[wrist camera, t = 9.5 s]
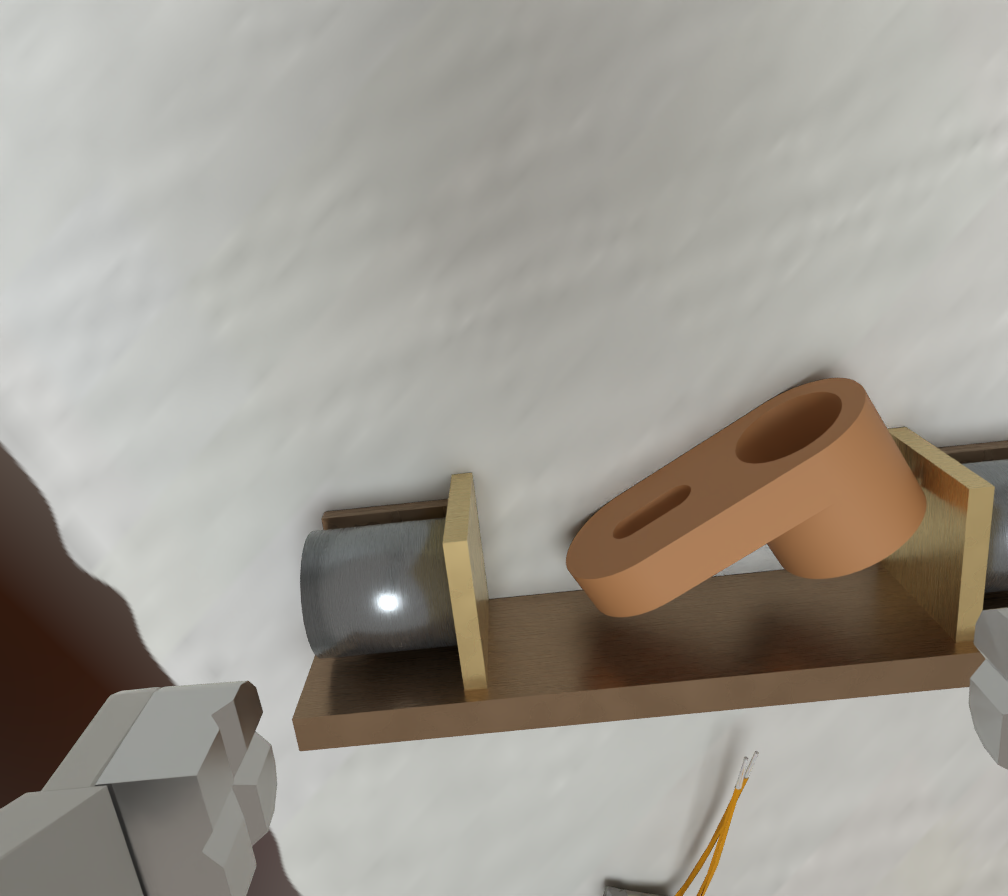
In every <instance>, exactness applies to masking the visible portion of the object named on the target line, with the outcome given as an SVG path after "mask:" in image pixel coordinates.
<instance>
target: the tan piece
mask: <svg viewBox="0 0 1008 896" xmlns="http://www.w3.org/2000/svg"><path fill="white" fill-rule="evenodd" d="M925 512H926V496H925V494H924V492H923V490H922V488H921V487H920V485H919V483H918V481H917V480H916V478H915V476H914V474H913V473H912V471H911V469H910V467H909V466H908V464H907V462H906V461H905V459H904V457H903V455H902V454H901V452H900V450H899V448H898V447H897V445H896V443H895V441H894V440H893V438H892V436H891V435H890V433H889V431H888V429H887V428H886V426H885V424H884V422H883V421H882V419H881V417H880V415H879V414H878V412H877V410H876V409H875V407H874V405H873V403H872V402H871V400H870V398H869V396H868V395H867V393H866V391H865V389H864V388H863V387H862V385H860V384H859V383H857V382H856V381H854V380H851V379H846V378H829V379H823V380H818V381H814V382H810V383H807V384H803V385H801V386H798V387H795V388H793V389H790V390H788V391H786V392H784V393H782V394H780V395H778V396H776V397H774V398H772V399H770V400H769V401H767V402H765V403H764V404H762V405H760V406H759V407H757V408H756V409H754V410H753V411H751V412H749V413H748V414H746V415H745V416H743V417H742V418H740V419H738V420H737V421H735V422H734V423H732V424H731V425H729V426H727V427H726V428H724V429H723V430H721V431H720V432H718V433H716V434H715V435H713V436H712V437H710V438H709V439H707V440H705V441H704V442H702V443H701V444H699V445H697V446H696V447H694V448H693V449H691V450H690V451H688V452H686V453H685V454H683V455H682V456H680V457H679V458H677V459H675V460H674V461H672V462H671V463H669V464H668V465H666V466H664V467H663V468H661V469H660V470H658V471H657V472H655V473H653V474H652V475H650V476H649V477H647V478H645V479H644V480H642V481H641V482H639V483H638V484H636V485H634V486H633V487H631V488H630V489H628V490H627V491H625V492H623V493H622V494H620V495H619V496H617V497H616V498H614V499H613V500H611V501H610V502H609V503H607V504H606V505H605V506H603V507H602V508H601V509H600V510H599V511H597V512H596V513H595V514H594V515H593V516H592V517H591V518H590V519H589V520H588V521H587V522H586V523H585V524H584V526H583V527H582V528H581V529H580V530H579V532H578V533H577V535H576V536H575V538H574V539H573V541H572V543H571V545H570V547H569V549H568V552H567V557H566V565H567V569H568V571H569V572H570V573H571V575H572V576H573V577H574V579H575V580H576V581H577V582H578V584H579V585H580V586H581V588H582V589H583V590H584V592H585V593H586V594H587V596H588V597H589V598H590V599H591V601H592V602H593V603H594V605H595V606H596V607H597V609H598V610H599V611H600V612H602V613H604V614H605V615H608V616H612V617H629V616H635V615H639V614H643V613H646V612H649V611H651V610H654V609H656V608H658V607H660V606H662V605H664V604H666V603H668V602H670V601H672V600H673V599H675V598H677V597H678V596H680V595H682V594H683V593H685V592H687V591H688V590H690V589H692V588H693V587H695V586H697V585H698V584H700V583H702V582H703V581H705V580H707V579H708V578H710V577H712V576H713V575H715V574H717V573H718V572H720V571H722V570H723V569H725V568H727V567H728V566H730V565H732V564H733V563H735V562H737V561H738V560H740V559H742V558H743V557H745V556H747V555H748V554H750V553H752V552H753V551H755V550H757V549H759V548H760V547H762V546H764V545H765V544H768V546H769V547H770V549H771V551H772V552H773V554H774V555H775V556H776V558H777V559H778V561H779V562H780V564H781V565H782V567H783V568H784V569H785V570H787V571H788V572H790V573H791V574H794V575H796V576H799V577H803V578H809V579H827V578H835V577H840V576H844V575H848V574H852V573H855V572H857V571H860V570H863V569H865V568H867V567H870V566H872V565H874V564H876V563H878V562H879V561H881V560H883V559H885V558H886V557H888V556H889V555H891V554H892V553H894V552H895V551H896V550H897V549H899V548H900V547H901V546H902V545H903V544H904V543H906V542H907V541H908V540H909V539H910V537H911V536H912V535H913V534H914V533H915V531H916V530H917V529H918V527H919V526H920V524H921V522H922V520H923V518H924V515H925Z"/></svg>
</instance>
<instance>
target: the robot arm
mask: <svg viewBox="0 0 1008 896" xmlns="http://www.w3.org/2000/svg"><path fill="white" fill-rule="evenodd" d="M973 644H974V645H975V646H976V647H977V649H978V650H979V651H980V652H981V654H982V655H983V656H984V658H985V659H986V660H985V661H984V662H983V663H982V664H981V666H980V667H979V668H978V669H977V670H976V671H975V673H974V674H973V675H972V676H971V677H970V688H969V707H970V712H971V716H972V720H973V724H974V728H975V731H976V733H977V734H978V736H979V738H980V740H981V742H982V744H983V746H984V748H985V749H986V750H987V752H988V753H989V754H990V755H991V757H992V758H993V759H994V761H995V762H996V763H997V764H998V765H1000V766H1002V767H1004V768H1006V769H1008V607H1007V608H998V609H990V610H982V612H981V614H980V616H979V618H978V620H977V622H976V625H975V634H974V643H973ZM262 713H263V710H262V707H261V703H260V700H259V696H258V693H257V689H256V687H255V686H254V685H253V684H251V683H250V682H249V681H236V682H223V683H210V684H197V685H183V686H170V687H163V688H158V687H156V688H146V689H136V690H127V691H121V692H118V693H115V694H113V695H111V696H110V697H109V698H108V699H107V701H106V702H105V703H104V705H103V706H102V708H101V709H100V710H99V712H98V713H97V714H96V716H95V717H94V719H93V720H92V722H91V723H90V724H89V726H88V727H87V728H86V730H85V731H84V733H83V734H82V735H81V737H80V738H79V740H78V741H77V742H76V744H75V745H74V746H73V748H72V749H71V751H70V752H69V753H68V755H67V756H66V758H65V759H64V760H63V762H62V763H61V764H60V766H59V767H58V769H57V770H56V771H55V773H54V774H53V775H52V777H51V778H50V780H49V781H48V782H47V784H46V785H45V787H44V788H43V789H42V791H40V792H31V793H25V794H24V795H22V796H21V797H19V798H18V799H16V800H15V801H13V802H11V803H10V804H8V805H7V806H5V807H3V808H2V809H0V896H246V894H247V891H248V889H249V886H250V883H251V880H252V877H253V874H254V871H255V868H256V861H255V857H254V853H253V850H252V846H253V845H254V844H255V843H256V842H257V841H258V840H259V839H260V838H261V837H263V836H264V835H265V834H266V833H267V832H268V830H269V826H270V823H271V820H272V817H273V814H274V810H275V800H276V790H277V777H276V765H275V759H274V755H273V751H272V746H271V744H270V743H269V742H268V741H266V740H265V739H264V738H263V737H262V736H261V735H259V734H258V733H257V732H256V731H255V730H256V728H257V726H258V723H259V721H260V718H261V716H262Z"/></svg>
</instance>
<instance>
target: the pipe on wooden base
mask: <svg viewBox="0 0 1008 896" xmlns="http://www.w3.org/2000/svg"><path fill="white" fill-rule="evenodd" d="M888 431H889V433H890V435H891V436H892V438H893V440H894V441H895V443H896V445H897V447H898V448H899V450H900V452H901V454H902V455H903V457H904V459H905V461H906V462H907V464H908V466H909V467H910V469H911V471H912V473H913V474H914V476H915V478H916V480H917V481H918V483H919V485H920V487H921V488H922V490H923V492H924V494H925V496H926V512H925V515H924V518H923V520H922V522H921V524H920V526H919V527H918V529H917V530H916V531H915V533H914V534H913V535H912V536H911V537H910V539H909V540H908V541H907V542H906V543H904V544H903V545H902V546H901V547H900V548H899V549H897V550H896V551H895V552H894V553H892V554H891V555H889V556H888V557H886V558H885V559H883V560H881V561H879V562H878V563H876V564H874V565H872V566H870V567H867V568H865V569H863V570H860V571H857V572H855V573H852V574H848V575H844V576H840V577H835V578H827V579H809V578H803V577H799V576H796V575H794V574H791V573H790V572H788V571H787V570H776V571H766V572H757V573H747V574H737V575H727V576H717V577H710V578H708V579H707V580H705V581H703V582H702V583H700V584H698V585H697V586H695V587H693V588H692V589H690V590H688V591H687V592H685V593H683V594H682V595H680V596H678V597H677V598H675V599H673V600H672V601H670V602H668V603H666V604H664V605H662V606H660V607H658V608H656V609H654V610H651V611H649V612H646V613H643V614H639V615H635V616H629V617H612V616H608V615H605V614H604V613H602V612H600V611H599V610H598V609H597V607H596V606H595V605H594V603H593V602H592V601H591V599H590V598H589V597H588V596H587V594H586V593H585V592H584V590H578V591H568V592H558V593H548V594H538V595H528V596H519V597H509V598H499V599H489V597H488V590H487V582H486V574H485V567H484V559H483V552H482V544H481V536H480V529H479V521H478V513H477V506H476V498H475V491H474V483H473V475H472V473H464V474H454V475H452V477H451V484H450V492H449V499H443V500H433V501H423V502H414V503H404V504H395V505H385V506H375V507H366V508H356V509H347V510H337V511H328V512H325V513H324V515H323V517H322V524H323V528H324V530H320V531H312V532H311V533H310V534H309V535H308V537H307V539H306V541H305V544H304V548H303V553H302V560H301V575H300V588H301V604H302V613H303V620H304V625H305V630H306V634H307V637H308V641H309V643H310V646H311V648H312V650H313V652H314V654H315V657H314V660H313V663H312V665H311V668H310V671H309V674H308V677H307V679H306V682H305V685H304V688H303V690H302V693H301V696H300V699H299V702H298V704H297V707H296V710H295V713H294V716H293V718H292V721H293V725H294V729H295V734H296V738H297V742H298V746H299V751H307V750H318V749H328V748H339V747H349V746H359V745H370V744H380V743H391V742H401V741H411V740H422V739H432V738H442V737H453V736H463V735H474V734H484V733H494V732H505V731H515V730H525V729H536V728H546V727H557V726H567V725H577V724H588V723H598V722H608V721H619V720H629V719H640V718H650V717H660V716H671V715H681V714H691V713H702V712H712V711H723V710H733V709H743V708H754V707H764V706H774V705H785V704H795V703H806V702H816V701H826V700H837V699H847V698H857V697H868V696H878V695H889V694H899V693H909V692H920V691H930V690H941V689H951V688H961V687H970V677H971V676H972V675H973V674H974V673H975V671H976V670H977V669H978V668H979V667H980V666H981V664H982V663H983V662H984V661H985V660H986V659H985V658H984V656H983V655H982V654H981V652H980V651H979V650H978V649H977V647H976V646H975V645H974V644H973V643H974V634H975V625H976V622H977V620H978V618H979V616H980V614H981V612H982V610H990V609H998V608H1007V607H1008V441H998V442H989V443H979V444H970V445H960V446H950V447H941V448H937V447H935V446H934V445H932V444H931V443H929V442H928V441H926V440H925V439H923V438H922V437H920V436H919V435H917V434H916V433H914V432H913V431H911V430H910V429H908V428H907V427H901V428H892V429H888Z"/></svg>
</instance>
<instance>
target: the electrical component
mask: <svg viewBox="0 0 1008 896" xmlns="http://www.w3.org/2000/svg"><path fill="white" fill-rule="evenodd" d="M757 756H758V752H757V751H755V753H754V755H753V757H752V759H751V761H750V764H749V766H748V768H747V770H746V765H747V761H748V758H747V757H744V760H743V764H742V767H741V771H740V774H739V777H738V781H737V784H736V786H735V790H734V793H733V796H732V799H731V801H730V803H729V805H728V807H727V809H726V811H725V813H724V815H723V817H722V819H721V821H720V823H719V825H718V827H717V829H716V831H715V833H714V835H713V837H712V839H711V841H710V843H709V845H708V847H707V849H706V850H705V852H704V853H703V855H702V856H701V858H700V860H699V861H698V863H697V864H696V866H695V868H694V869H693V871H692V872H691V874H690V876H689V877H688V879H687V880H686V882H685V883H684V885H683V886H682V887H681V889H680V890H679V891H678V892H677V894H676V895H675V896H683V894H684V893H685V891H686V890H687V888H688V887H689V885H690V884H691V882H692V881H693V880H694V878H695V877H696V875H697V874H698V872H699V871H700V869H701V868H702V866H703V864H704V862H705V861H706V859H707V857H708V855H709V854H710V852H711V850H712V848H713V847H714V845H715V843H716V841H717V839H718V837H719V839H718V842H717V846H716V849H715V852H714V855H713V858H712V861H711V864H710V867H709V870H708V873H707V875H706V877H705V879H704V881H703V884H702V886H701V888H700V890H699V892H698V894H697V896H700V895H701V896H704V895H705V892H706V890H707V888H708V886H709V884H710V881H711V879H712V877H713V875H714V872H715V870H716V868H717V866H718V864H719V860H720V857H721V853H722V850H723V846H724V843H725V840H726V836H727V833H728V829H729V826H730V823H731V819H732V816H733V812H734V809H735V806H736V802H737V800H738V798H739V796H740V794H741V792H742V790H743V788H744V786H745V784H746V782H747V780H748V778H749V775H750V773H751V770H752V768H753V765H754V763H755V761H756V758H757ZM745 770H746V772H745ZM726 824H727V825H726ZM722 837H723V838H722ZM719 847H720V848H719ZM715 860H716V861H715ZM701 893H702V894H701ZM603 896H662V895H655V894H648V893H642V892H636V891H630V890H626V889H619V888H614V887H608V886H606V888H605V891H604V894H603Z"/></svg>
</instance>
